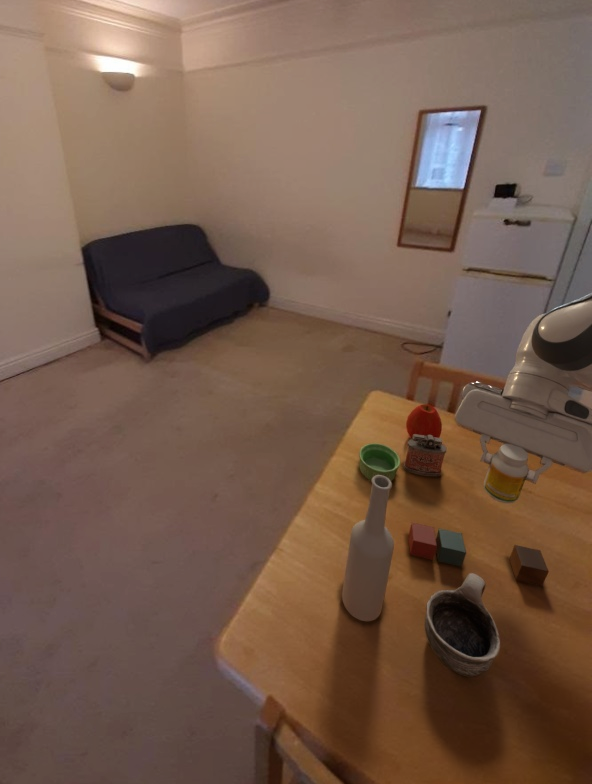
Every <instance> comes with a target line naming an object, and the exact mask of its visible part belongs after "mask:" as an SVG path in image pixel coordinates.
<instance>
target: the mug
mask: <svg viewBox="0 0 592 784" xmlns="http://www.w3.org/2000/svg"><path fill="white" fill-rule="evenodd" d="M486 585H487V584H486V582H485V580H484V579H483V578H482V577H481V576H480V575H478V574H476V573H473V572H469V573H468V574H467V576H466V577H465V579H464V581H463V582H462V584H461V586H459V587H457V588H456V589H453V590H450V589H443V590H438V591H436V592H435V593H433V594H431V596H430V598H429V599H428V600H427V603H426V606H425V608H426V609H425V611H426V614H425V617H424V631H425V636H426V639H427V642H428V645H429V646H430V648H431V649H432V651H433V653H434V654H435V656H436V657H437V658H438V659H439V661H440V662H442V663H443V665H445V666H446V667H447V668H448V669H450V670H451V671H453V672H454V673H456V674H458V675H460V676H465V677H477V676H480V675H482V674H484V673H486V672H487V671H488V670H489V668H491V666H492V664H493V662H494V660H495V659H496V658H497V656H498V655H499V653H500V649H501V640H500V634H499V630H498V628H497V625H496V622H495V620H494V618H493V616H492V614H491V613H490V612H489V610H488V609H487V607H486V606H485V604H484V602H483V600H482V599H483V595H484V592H485V589H486Z"/></svg>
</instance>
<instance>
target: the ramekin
mask: <svg viewBox="0 0 592 784" xmlns="http://www.w3.org/2000/svg"><path fill="white" fill-rule="evenodd" d="M358 456H359V457H358V458H359V470H360V473H362V475H363V476H364V477H365V478H366V479H368V480H369V481H372V478H373V477H374V476H376V475H382V476H385V477H387V478H388V479H389V480H390V481H391V482H392V481H393V480H395V477H396V476H397V472H398V469H399V468H400V464H401V459H400V456H399V454H398V453H397V452H396V451H395V450H394V448H391V447H390V446H388V445H385V444H382V443H378V442H377V443H376V442H374V443H368V444H365V445H362V447H361V448H360V449H359V452H358Z"/></svg>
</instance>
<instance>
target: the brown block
mask: <svg viewBox="0 0 592 784" xmlns="http://www.w3.org/2000/svg"><path fill="white" fill-rule="evenodd" d="M508 560H509V561H510V562H509V563H510V565H511V570H512V572H513V575H514V578H515V580H516V581H520V582H524V583H527V584H532V585H535V586H540V587H543V585H544V583H545V581H546V579H547V577H548V574H549V572H550V571H549V568H548V566H547V564H546V561H545V558H544V555H543V554H542V551H541V550H540V549H535V548H531V547H527V546H523V545H518V544H514V546H513V549H512V551H511V554H510V556H509V558H508Z"/></svg>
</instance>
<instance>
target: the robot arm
mask: <svg viewBox="0 0 592 784" xmlns="http://www.w3.org/2000/svg"><path fill="white" fill-rule="evenodd" d="M575 387H576V388H580V389H582V390H585V391H588V392H592V292H590V293H588V294H586V295H584V296H581V297H580V298H577V299H575V300H572V301H570V302H569V301H568V302H567V303H564V304H561V305H558V306H557V307H554V308H552V309H551V310H549V311H548V312H546V313H545V312H544V313H541V314H540V315H538V316H536V317H535V318H533V320H532V321H531V322H530V323H529V325H528V326H527V328H526V329H525V331H524V333H523V334H522V337H521V339H520V341H519V345H518V347H517V350H516V354H515V364H514V366H513V368H512V369H511V370H510V371H509V373H508V376H507V379H506V381H505V384H504V386H503V388H499V387H497V386H493V385H488V384H485V383H484V382H480V381H476V382H469V383H467V384H465V386H464V387H463V389H462V392H461V399H462V401H461V402H460V405H459V406H458V408H457V410H456V413H455V415H454V421H455V424H456V425H457V427H459V428H461V429H464V430H466V431H469V432H472V433H475V434H476V435H477V434H478V435H480V438H479V442H480V446H481V450H482V453H481V457H480V462H482V463H483V464H486V465H488V466H489V465H490V462H491V459H492V456H493V455H494V454H492V453H490V452H488V451H489V450H488V448H487V445H489V444H490V441H491V440H493V441H495V442H498V443H501V444H513V445H516V446H518V447H521V448H522V449H524V450H525V451H526V452H527V454H530V455H532V456H535V457H538V458H540V461H539V464H540V465H541V466H540V467H539V468H537V469H536V470H533V469H529V468H528V469H529V470H528V474H527V477H526V479H525V481H527V482H528V483H532V484H534V485H536V484H537V483H538V479H539V477H540V475H541V474H543V473H544V472H546V471H547V470H549V469H550V468H551V467H552V464H553V463H554V464H555V465H559V466H562V467H565V468H567V469H570V470H572V471H575V472H578V473H580V474H586V473H590V472H592V408H591V407H589V406H588V405H586V404H583V403H582V402H580V401H579V400H577V399H575V398H573V397H572V396H570V395H569V392H570V389H572V388H575Z"/></svg>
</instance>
